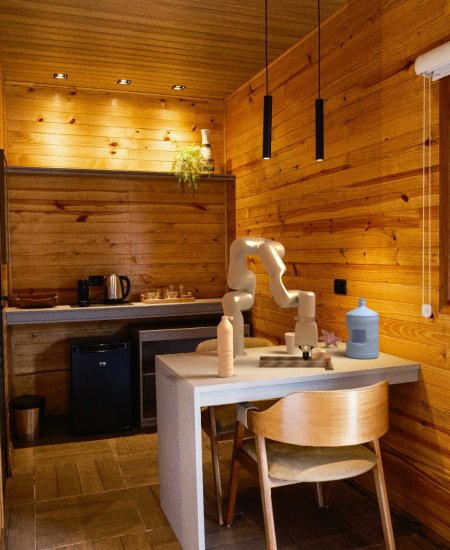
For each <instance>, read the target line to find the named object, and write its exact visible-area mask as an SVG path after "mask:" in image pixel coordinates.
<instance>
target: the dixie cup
mask: <svg viewBox="0 0 450 550" xmlns="http://www.w3.org/2000/svg"><path fill="white" fill-rule="evenodd" d="M294 337H295V332H285V333H284V338H285V340H284V341H285V346H286V347H285V348H286V353H287V355H289V356H298V355H300V349H299V348H296V347H294V343H295V341H294Z"/></svg>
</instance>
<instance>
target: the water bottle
mask: <svg viewBox="0 0 450 550" xmlns="http://www.w3.org/2000/svg"><path fill="white" fill-rule="evenodd" d="M228 320H233V317H228V316H224V315H223V316H221V321H220V322H219V324H218V325H217V328H216V332H217V338H216V339H217V347H218V351H217V376H218V377H219V376H220V378H231V377H234V358H233V327H232V325H231V324H230V322H229V321H228Z"/></svg>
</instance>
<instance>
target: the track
mask: <svg viewBox="0 0 450 550" xmlns="http://www.w3.org/2000/svg"><path fill="white" fill-rule="evenodd" d="M258 366H259V368H263V369H265V368H266V369H268V368H269V369H271V368H273V369H275V368H276V369H281V368H283V369H285V368H286V369H288V368H291V369H292V368H293V369H295V368H296V369H297V368H299V369H300V368H302V369H303V368H304V369H307V368H308V369H313V368H314V369H316V368H318V369H322V368H323V369H324V370H325V371H334V366H333V364H332V357H331V355H330V353H328V352H326V361H311V355H309V359H308V361H304V359H302V355H278V356H277V355H275V356H274V355H266V356H265V355H259V361H258Z"/></svg>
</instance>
